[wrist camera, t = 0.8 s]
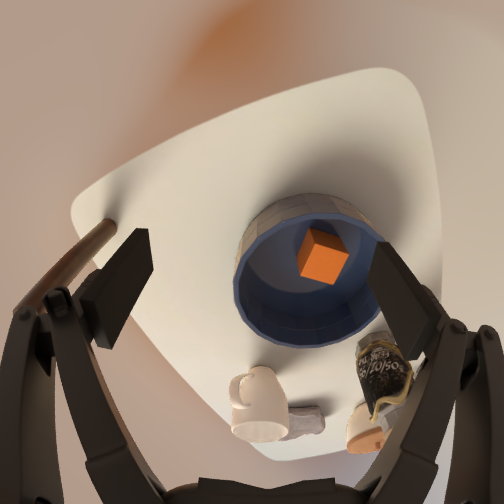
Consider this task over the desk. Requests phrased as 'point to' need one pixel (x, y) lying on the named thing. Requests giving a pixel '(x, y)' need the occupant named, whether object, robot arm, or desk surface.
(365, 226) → the stir bowl
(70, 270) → the stick
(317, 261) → the block
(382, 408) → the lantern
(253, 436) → the mug
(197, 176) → the desk surface
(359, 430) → the lidded bowl
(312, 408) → the stone block
